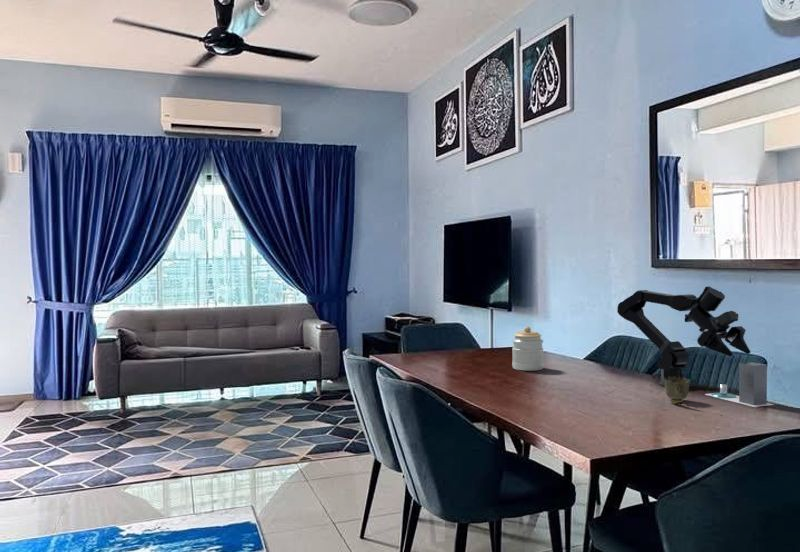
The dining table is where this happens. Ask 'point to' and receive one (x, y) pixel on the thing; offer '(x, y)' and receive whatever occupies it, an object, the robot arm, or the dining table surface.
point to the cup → (676, 389)
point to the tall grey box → (753, 383)
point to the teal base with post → (723, 392)
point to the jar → (527, 351)
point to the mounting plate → (740, 402)
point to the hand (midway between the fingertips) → (740, 354)
